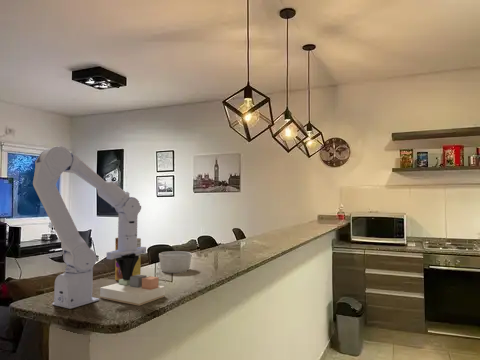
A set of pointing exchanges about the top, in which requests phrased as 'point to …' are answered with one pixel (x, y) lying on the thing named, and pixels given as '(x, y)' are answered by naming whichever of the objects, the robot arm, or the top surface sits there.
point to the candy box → (137, 267)
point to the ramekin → (175, 261)
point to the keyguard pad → (131, 294)
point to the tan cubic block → (150, 282)
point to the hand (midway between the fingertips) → (126, 279)
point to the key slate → (136, 280)
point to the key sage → (124, 282)
